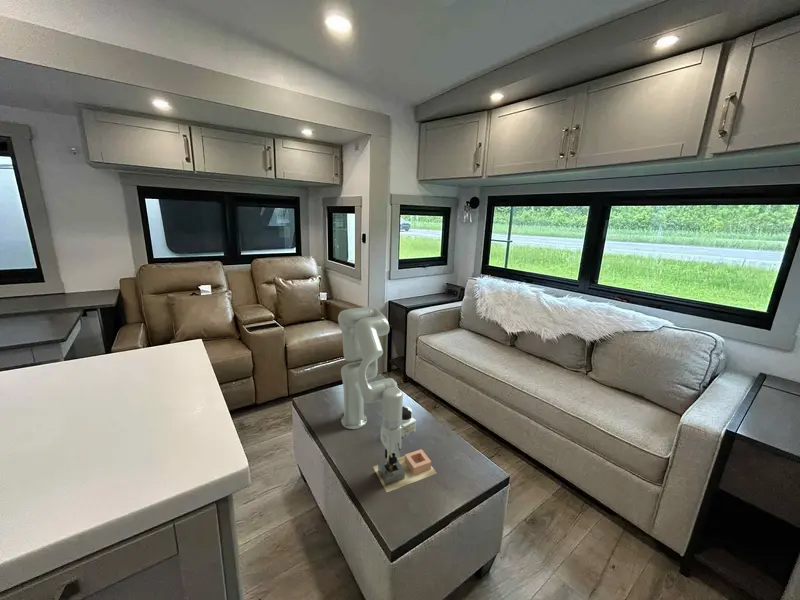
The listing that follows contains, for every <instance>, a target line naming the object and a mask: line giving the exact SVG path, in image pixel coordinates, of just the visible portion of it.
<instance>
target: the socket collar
mask: <svg viewBox="0 0 800 600" xmlns="http://www.w3.org/2000/svg"><path fill="white" fill-rule="evenodd" d="M404 456H405V463H406V465H407V466H408V468H409V469H410V471H411V472H412V474H413V475H416V474H419V473H421V472H424V471H427V470H429V469H431V466H432V460H431V459H430V458H429V457H428V455H427V454H426V453H425V451H424V450H423V449H422V448H420V449H418V450H415V451H412V452H408V453H405V454H404ZM418 460H420V461H421V462H419V463H415V461H418Z"/></svg>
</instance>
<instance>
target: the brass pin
mask: <svg viewBox="0 0 800 600" xmlns="http://www.w3.org/2000/svg"><path fill="white" fill-rule="evenodd" d="M393 453H395V451H394V452H393ZM393 453H392V454H393ZM389 456H390V453H389V452H388V451H387V458H386V461H387V469H388V470H390V471H392V470H394V467H395V464H392V465H389Z"/></svg>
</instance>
